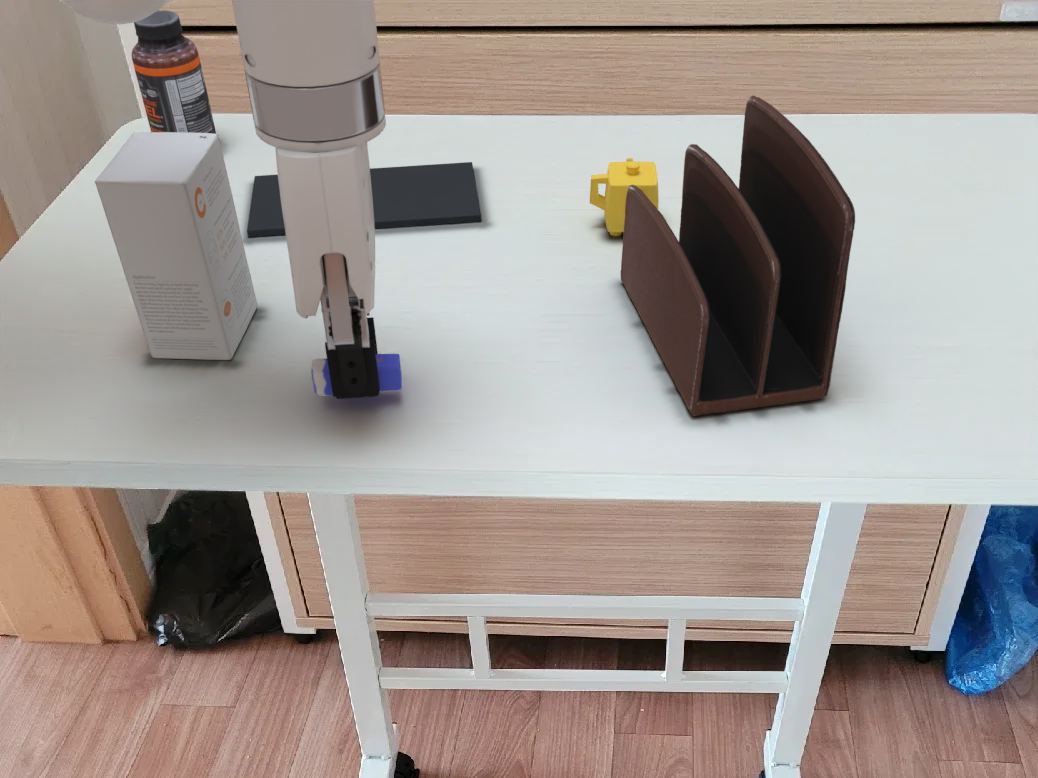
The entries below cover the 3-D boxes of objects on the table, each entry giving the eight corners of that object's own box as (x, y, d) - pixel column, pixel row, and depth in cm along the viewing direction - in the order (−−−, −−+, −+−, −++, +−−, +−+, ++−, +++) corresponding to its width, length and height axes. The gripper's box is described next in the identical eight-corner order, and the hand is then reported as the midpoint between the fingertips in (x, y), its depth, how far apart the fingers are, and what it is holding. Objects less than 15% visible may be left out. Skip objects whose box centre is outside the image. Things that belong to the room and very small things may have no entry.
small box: (181, 304, 87) (132, 129, 78) (259, 306, 87) (220, 131, 77) (148, 359, 82) (91, 179, 72) (232, 362, 82) (186, 181, 72)
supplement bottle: (145, 149, 107) (109, 16, 99) (199, 131, 110) (168, 0, 101) (176, 167, 104) (141, 32, 96) (230, 149, 107) (201, 16, 98)
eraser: (316, 382, 78) (311, 356, 76) (402, 377, 78) (399, 351, 77) (315, 398, 76) (310, 372, 75) (402, 393, 77) (399, 367, 75)
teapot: (588, 204, 98) (589, 143, 94) (654, 204, 98) (658, 142, 94) (589, 247, 92) (590, 184, 89) (658, 247, 92) (662, 183, 88)
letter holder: (738, 267, 90) (761, 76, 79) (828, 401, 77) (870, 195, 66) (618, 281, 89) (626, 89, 78) (690, 420, 76) (710, 213, 65)
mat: (248, 237, 95) (246, 230, 94) (255, 182, 102) (254, 175, 102) (481, 221, 96) (480, 214, 95) (472, 168, 103) (472, 161, 103)
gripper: (258, 51, 68) (305, 327, 82) (241, 161, 58) (298, 456, 72) (381, 47, 69) (407, 322, 83) (385, 154, 58) (415, 448, 72)
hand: (356, 382), depth 77 cm, fingers closed on eraser, 2 cm apart
